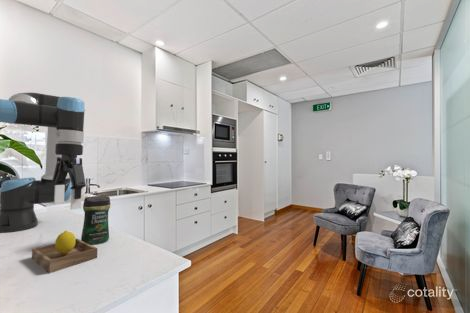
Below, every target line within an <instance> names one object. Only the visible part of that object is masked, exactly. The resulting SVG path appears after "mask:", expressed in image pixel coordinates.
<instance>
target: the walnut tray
mask: <svg viewBox="0 0 470 313" xmlns="http://www.w3.org/2000/svg"><path fill="white" fill-rule="evenodd" d="M75 239H76V243H75V246H74V248H73V249H72V250H71V251H70V252H68V253H67V254H66V255H64V254H62V253H59V252H57V250H56V248H55V243H52V244H49V245H44V246H40V247H35V248H32V250H31V260H33V261H34V262H35V263H37V265H38V266H41V268H42V269H44V270H45V271H46V272H48V273H49V274H51V273H54V272H57V271H62V270H63V269H66V268H69V267H73V266H76V265H79V264H81V263H82V264H83V263H85V262H88V261H91V260H96V259H98V247H95V246H94V245H93V244H92V245H89V244H87V243H85V242H83V241H81V239H79V238H75Z"/></svg>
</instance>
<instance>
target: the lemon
mask: <svg viewBox="0 0 470 313" xmlns="http://www.w3.org/2000/svg"><path fill="white" fill-rule="evenodd" d="M76 239H77V238H76V236H75V234H74V233H73V232H71V231H68V230H64V231H63V232H61V233H59V235H58V236H57V237H56V239H55V242H54V244H55V248H56V250H57V252H59V253H62V254H64V255H66V254H67V253H68V252H70V251H71V250H72V249H73V248H74V246H75V243H76Z"/></svg>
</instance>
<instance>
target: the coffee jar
mask: <svg viewBox="0 0 470 313" xmlns="http://www.w3.org/2000/svg"><path fill="white" fill-rule="evenodd" d="M82 209H83V212H84V217H83V219H84V220H83V226H82V231H81V238H80V240H81V241H83V242H85V243H87V244H89V245H92V246H93V245H97V244H103V243H106V242H107V241H109V239H110V230H109V210H110V209H111V198H110V197H109V196H108V195H93V196H86V197H84V200H83V204H82Z"/></svg>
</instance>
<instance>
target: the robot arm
mask: <svg viewBox="0 0 470 313" xmlns="http://www.w3.org/2000/svg"><path fill="white" fill-rule="evenodd" d="M85 111H86V109H85V101H83V99H81V98H76V97H70V96H57V95H52V94H44V93H39V92H20V93H15V94H12V95H11V96H10V97H9V98H8V99H2V98H1V99H0V123H5V124H10V125H13V124H14V125H24V126H25V125H26V126H36V127H45V128H47V135H46V136H47V137H46V153H45V169H44V170H45V171H44V172H45V173H44V174H43V175H41V177H40V179H38V180H36V178H35V177H24V178H23V177H22V178H15V179H9V180H5V181H3V182H2V183H1V186H0V233H11V232H19V231H24V230H29V229H32V228H35V227H37V226H38V223H39V222H38V221H39V220H38V217H37V215H36V213H35V210H34V208H35V205H39V204H50V203H51V204H52V203H53V204H55V205H57V204H64V203H65V202H67V201H70V210H71V211H72V210H78V209H82V198H83V197H82V195H83V194H82V192H83V190H82V189H84V188H86V186H87V185H86V184H87V183H86V178H85V173H84V169H83V168H84V166H83V158H82V157H78V156H83V153H84V146H83V145H82V144H83V143H84V136H85V135H84V127H85V125H84V124H85Z"/></svg>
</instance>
